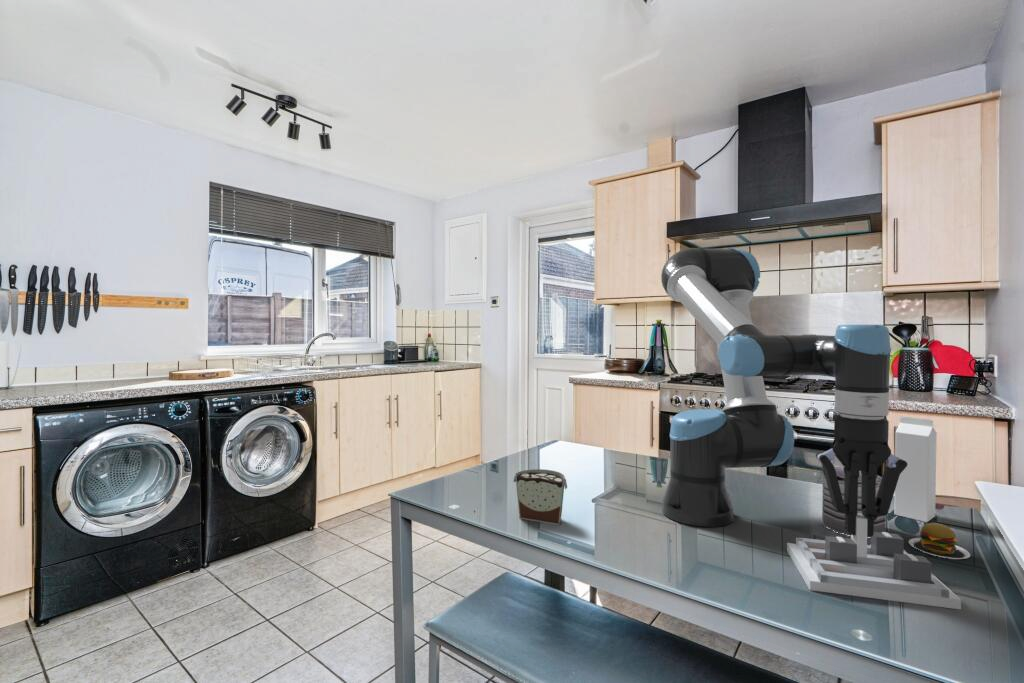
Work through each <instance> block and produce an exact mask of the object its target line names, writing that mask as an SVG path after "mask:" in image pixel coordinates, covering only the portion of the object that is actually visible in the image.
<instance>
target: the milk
mask: <svg viewBox="0 0 1024 683" xmlns="http://www.w3.org/2000/svg"><path fill="white" fill-rule="evenodd" d="M937 436H938V435H937V431H936V429H935V428H934V421H933V419H925V418H919V417H918V418H917V417H908V416H900V418H899V424H898V426H897V428H896V431H895V437H894V438H895V443H894V444H895V445H894V450H895V451H894V453H895V454H894V456H896V457H898V458H900V459H902V460H904V461H906V462H907V467H906V468H905V469H904V470H903V471H902V473H901V474H900V476H899V479H898V482H897V485H896V489H895V492H894V502H893V503H894V510H893V512H894V515H896V516H901V517H904V518H908V519H912V520H916V521H921V522H924V523H929V522H930V521H931V520H932V519H933V518H935V517H936V492H937V490H936V486H937Z"/></svg>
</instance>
